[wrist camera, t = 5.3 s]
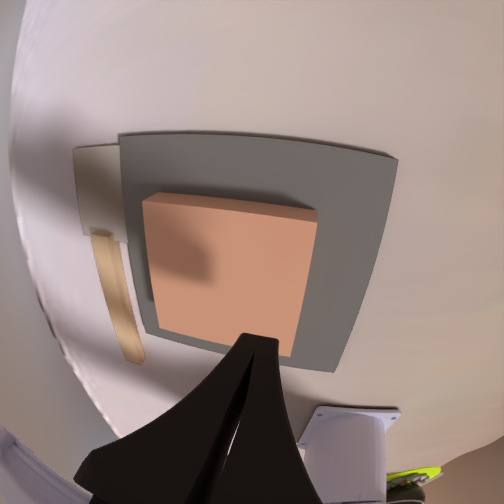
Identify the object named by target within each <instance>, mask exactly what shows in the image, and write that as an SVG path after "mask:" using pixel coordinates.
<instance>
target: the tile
mask: <svg viewBox="0 0 504 504" xmlns="http://www.w3.org/2000/svg"><path fill="white" fill-rule="evenodd" d="M142 207H143V218H144V229H145V238H146V247H147V255H148V262H149V269H150V276H151V283H152V289H153V295H154V301H155V307H156V312H157V317H158V322H159V327H160V328H162V329H165V330H169V331H172V332H176V333H180V334H183V335H187V336H191V337H195V338H199V339H203V340H207V341H211V342H216V343H220V344H224V345H229V346H233V345H234V343H235V342H236V341H237V339H238V337H239V336H240V334H242V333H249V334H255V335H260V336H265V337H271V338H277V339H278V340H279V355H281V356H287V357H290V355H291V351H292V347H293V343H294V339H295V334H296V330H297V326H298V321H299V317H300V312H301V308H302V303H303V298H304V293H305V289H306V284H307V279H308V273H309V268H310V263H311V258H312V252H313V247H314V241H315V235H316V229H317V223H318V219H317V210H311V209H304V208H297V207H290V206H283V205H276V204H268V203H261V202H253V201H244V200H236V199H227V198H218V197H208V196H198V195H188V194H176V193H164V192H158V193H156V194H154V195H152V196H150V197H149V198H147V199H145V200H143V201H142Z"/></svg>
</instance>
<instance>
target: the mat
mask: <svg viewBox="0 0 504 504" xmlns="http://www.w3.org/2000/svg"><path fill="white" fill-rule="evenodd" d="M119 147H120V170H121V185H122V197H123V207H124V216H125V225H126V232H127V240H128V247H129V253H130V259H131V265H132V271H133V276H134V282H135V287H136V292H137V297H138V301H139V306H140V311H141V315H142V319H143V323H144V327H145V331H146V333H148V334H151V335H154V336H157V337H161V338H164V339H168V340H171V341H175V342H178V343H182V344H185V345H189V346H193V347H197V348H201V349H205V350H209V351H213V352H217V353H221V354H227V353H228V352H229V350H230V349H231V348H232V346H229V345H224V344H220V343H216V342H211V341H207V340H203V339H199V338H195V337H191V336H187V335H183V334H180V333H176V332H172V331H169V330H165V329H162V328H160V327H159V322H158V317H157V312H156V307H155V301H154V295H153V289H152V283H151V276H150V269H149V262H148V255H147V247H146V238H145V229H144V218H143V207H142V201H143V200H145V199H147V198H149V197H150V196H152V195H154V194H156V193H158V192H164V193H176V194H188V195H198V196H208V197H218V198H227V199H236V200H244V201H253V202H261V203H268V204H276V205H283V206H290V207H297V208H304V209H311V210H317V219H318V223H317V229H316V235H315V241H314V247H313V252H312V258H311V263H310V268H309V273H308V279H307V284H306V289H305V293H304V298H303V303H302V308H301V312H300V317H299V321H298V326H297V330H296V334H295V339H294V343H293V347H292V351H291V355H290V357H287V356H281V355H279V365H282V366H288V367H294V368H301V369H308V370H315V371H323V372H332V373H334V372H335V370H336V368H337V365H338V363H339V361H340V358H341V356H342V354H343V351H344V349H345V346H346V344H347V341H348V339H349V336H350V334H351V331H352V329H353V326H354V323H355V321H356V318H357V315H358V313H359V310H360V307H361V304H362V301H363V298H364V295H365V292H366V289H367V286H368V283H369V280H370V277H371V274H372V271H373V267H374V264H375V261H376V257H377V254H378V250H379V247H380V243H381V239H382V235H383V231H384V228H385V223H386V219H387V215H388V211H389V206H390V202H391V197H392V193H393V188H394V183H395V177H396V172H397V166H398V160H397V159H395V158H391V157H387V156H383V155H378V154H374V153H369V152H364V151H359V150H354V149H348V148H343V147H337V146H331V145H325V144H318V143H311V142H304V141H296V140H287V139H278V138H267V137H256V136H241V135H222V134H148V135H129V136H121V137H119Z"/></svg>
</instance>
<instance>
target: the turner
mask: <svg viewBox="0 0 504 504" xmlns="http://www.w3.org/2000/svg"><path fill="white" fill-rule="evenodd" d="M73 161H74V173H75V183H76V191H77V199H78V206H79V212H80V219H81V224H82V230H83V235H86V236H91V241H92V246H93V251H94V256H95V260H96V264H97V269H98V273H99V277H100V281H101V285H102V289H103V292H104V296H105V299H106V303H107V306H108V310H109V313H110V316H111V319H112V323H113V326H114V329H115V332H116V335H117V338H118V340H119V343H120V346H121V349H122V351H123V354H124V357H125V359H126V360H128V361H131V362H133V363H136V364H139V365H141V363H142V362H143V360H144V359H145V354H144V351H143V347H142V344H141V341H140V337H139V333H138V330H137V326H136V322H135V318H134V315H133V311H132V306H131V302H130V298H129V293H128V289H127V284H126V279H125V275H124V269H123V264H122V259H121V253H120V247H119V242H124V243H128V240H127V232H126V225H125V216H124V207H123V197H122V185H121V170H120V147H119V145H106V146H94V147H83V148H75V149H73Z"/></svg>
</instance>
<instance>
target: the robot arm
mask: <svg viewBox="0 0 504 504" xmlns="http://www.w3.org/2000/svg"><path fill="white" fill-rule="evenodd" d="M400 415H401V411H400V410H379V409H354V408H340V407H328V406H319V407H317V408H316V410H315V412H314V414H313V416H312V418H311V419H310V421H309V423H308V425H307V427H306V429H305V431H304V433H303V434H302V436H301V438H300V440H299V442H298V443H297V445H296V442H295V439H294V436H293V433H292V430H291V426H290V423H289V419H288V415H287V411H286V407H285V402H284V397H283V392H282V386H281V379H280V371H279V340H278V339H277V338H271V337H265V336H260V335H255V334H249V333H242V334H240V336H239V337H238V339H237V341H236V342H235V343H234V345H233V346H232V348H231V349H230V350H229V352H228V353H227V354H226V355H225V357H224V358H223V359H222V360H221V361H220V363H219V364H218V365H217V366H216V367H215V368H214V369H213V370H212V372H211V373H210V374H209V375H208V376H207V377H206V378H205V379H204V380H203V381H202V382H201V383H200V384H199V385H198V386H197V387H196V388H195V389H194V390H192V391H191V392H190V393H189V394H188V395H187V396H186V397H185V398H183V399H182V400H181V401H180V402H178V403H177V404H176V405H175V406H173V407H172V408H171V409H169V410H168V411H166V412H165V413H164V414H162V415H161V416H159V417H158V418H156V419H155V420H153V421H152V422H150V423H149V424H147V425H145V426H143V427H142V428H140V429H138V430H136V431H134V432H133V433H131V434H129V435H127V436H125V437H123V438H121V439H119V440H117V441H115V442H112V443H110V444H107V445H104V446H102V447H99V448H97V449H94V450H92V451H91V452H90V454H89V455H88V456H87V457H86V458H85V460H84V461H83V462H82V464H81V466H80V468H79V469H78V471H77V473H76V474H75V476H74V478H73V479H74V481H75V482H76V483H77V484H78V485H80V486H81V487H83V488H84V489H86V490H88V491H89V492H91V493H92V494H94V495H93V496H91V495H89V494H88V493H86V492H85V491H83V490H82V489H80V488H78V487H77V486H76V485H74V484H73V483H71V482H70V481H68V480H67V479H65V478H64V477H63V476H61V475H60V474H59V473H57V472H56V471H55V470H53V469H52V468H51V467H49V466H48V465H47V464H46V463H44V462H43V461H42V460H41V459H39V458H38V457H37V456H36V455H35V454H34V452H33V451H32V450H31V449H29V448H28V447H27V446H26V445H25V444H24V443H23V442H22V441H21V440H20V439H18V438H17V437H16V436H15V435H14V434H13V433H11V432H10V431H9V430H7V428H6V427H5V426H4V425H2V423H1V422H0V494H1V496H2V497H3V498H4V500H5V501H6V502H7V504H387V503H386V440H385V431H386V430H387V429H388V428H389V427H390V426H391V425H392V424H393V423H394V422H395V421H396V420H397V419H398V418H399V416H400ZM241 416H242V417H241ZM240 419H241V420H240ZM239 421H240V423H239ZM238 424H239V426H238ZM237 426H238V429H237ZM236 429H237V432H236V435H235V437H234V440H233V443H232V446H231V449H230V452H229V454H228V450H229V447H230V444H231V441H232V439H233V436H234V434H235V431H236ZM298 448H299V449H305V456H304V462H303V461H302V458H301V456H300V453H299V451H298ZM227 454H228V457H227ZM226 457H227V460H226ZM225 460H226V463H225ZM224 464H225V465H224ZM223 467H224V468H223Z"/></svg>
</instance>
